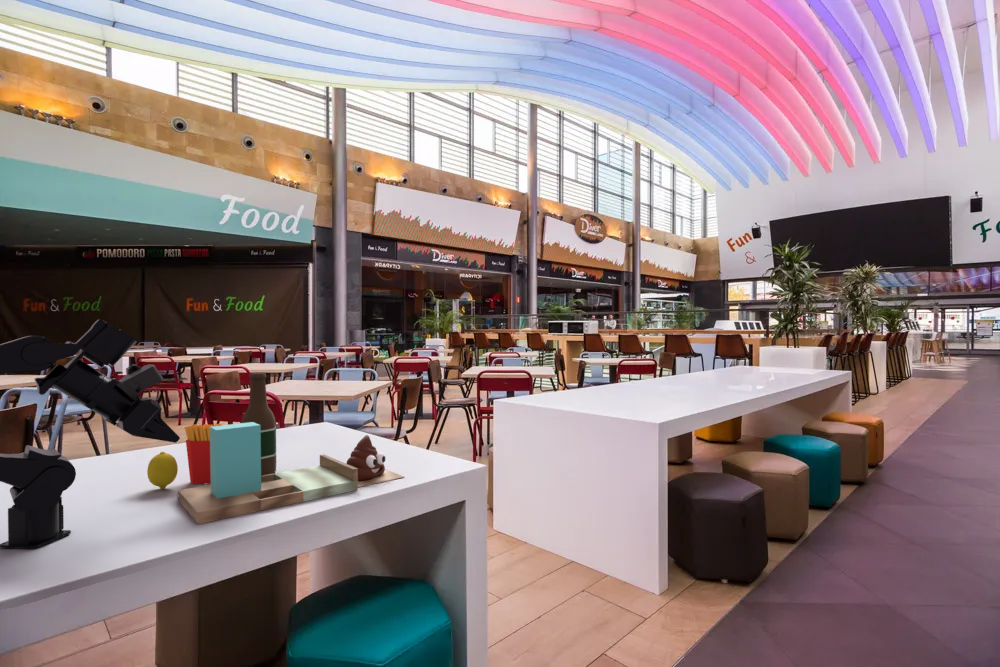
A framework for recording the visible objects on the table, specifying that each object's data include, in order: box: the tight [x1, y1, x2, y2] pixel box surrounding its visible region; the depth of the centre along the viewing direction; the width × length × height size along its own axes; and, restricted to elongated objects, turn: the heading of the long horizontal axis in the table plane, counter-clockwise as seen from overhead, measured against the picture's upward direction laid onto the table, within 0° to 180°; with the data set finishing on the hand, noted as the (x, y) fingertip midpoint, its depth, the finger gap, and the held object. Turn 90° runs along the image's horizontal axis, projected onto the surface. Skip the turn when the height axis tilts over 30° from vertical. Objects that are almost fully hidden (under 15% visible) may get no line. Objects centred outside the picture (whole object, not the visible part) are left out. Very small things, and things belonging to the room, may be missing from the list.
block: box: [210, 422, 261, 499], centre depth 106 cm, size 8×5×13 cm, turn 130°
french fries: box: [184, 423, 222, 485], centre depth 121 cm, size 9×4×13 cm, turn 90°
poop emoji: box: [346, 434, 386, 481], centre depth 123 cm, size 10×8×9 cm
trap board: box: [177, 454, 359, 525], centre depth 110 cm, size 30×18×4 cm, turn 130°
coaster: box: [358, 468, 405, 488], centre depth 123 cm, size 13×13×1 cm
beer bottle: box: [240, 372, 277, 476], centre depth 126 cm, size 8×8×24 cm
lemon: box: [146, 451, 179, 490], centre depth 116 cm, size 6×6×8 cm
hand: (171, 437), depth 100 cm, fingers open, 9 cm apart
